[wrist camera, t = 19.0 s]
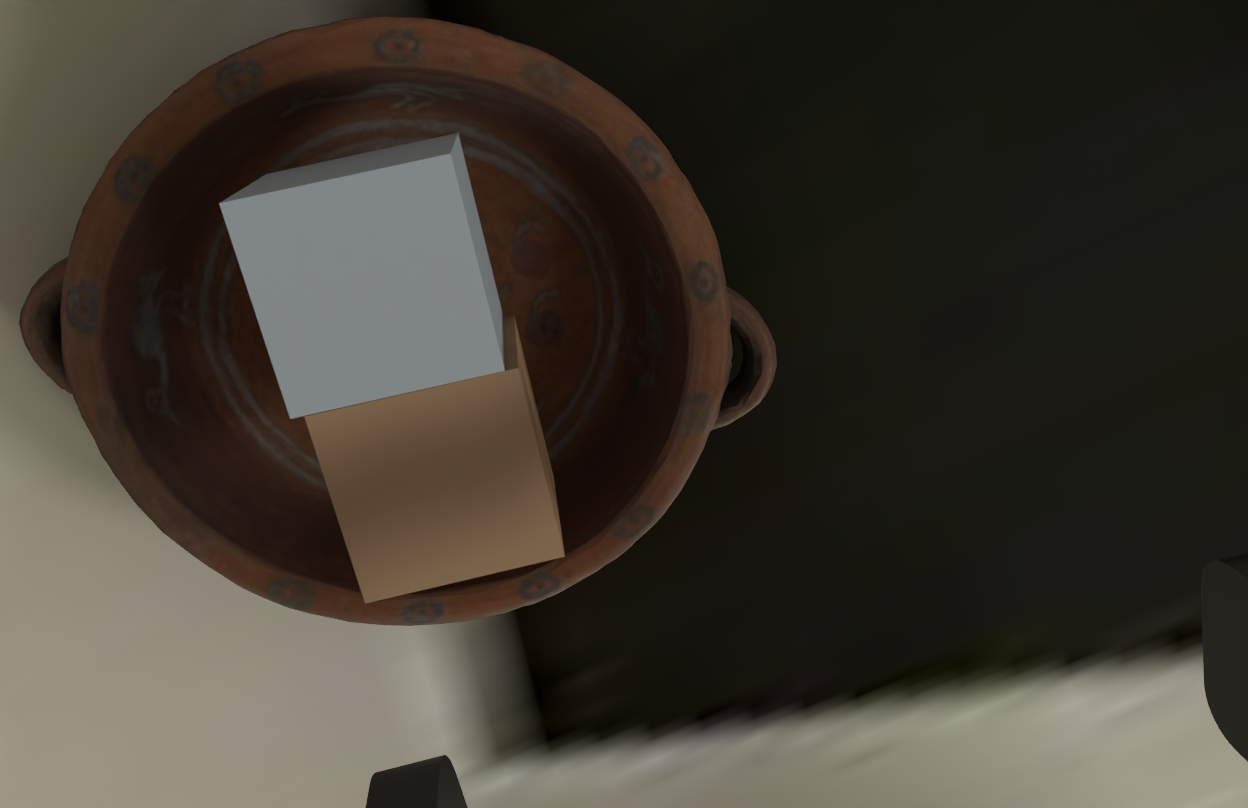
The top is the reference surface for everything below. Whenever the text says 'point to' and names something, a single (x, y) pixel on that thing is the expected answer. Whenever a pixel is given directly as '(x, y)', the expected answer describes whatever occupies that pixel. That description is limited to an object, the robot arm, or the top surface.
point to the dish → (524, 277)
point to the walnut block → (442, 480)
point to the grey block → (369, 275)
